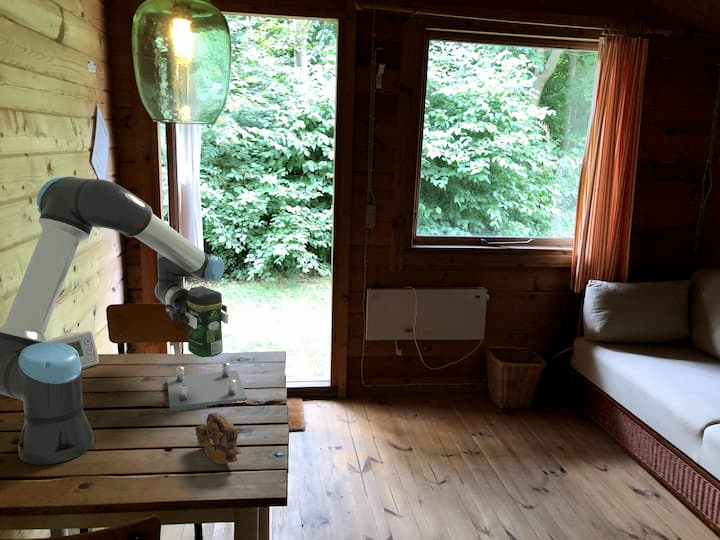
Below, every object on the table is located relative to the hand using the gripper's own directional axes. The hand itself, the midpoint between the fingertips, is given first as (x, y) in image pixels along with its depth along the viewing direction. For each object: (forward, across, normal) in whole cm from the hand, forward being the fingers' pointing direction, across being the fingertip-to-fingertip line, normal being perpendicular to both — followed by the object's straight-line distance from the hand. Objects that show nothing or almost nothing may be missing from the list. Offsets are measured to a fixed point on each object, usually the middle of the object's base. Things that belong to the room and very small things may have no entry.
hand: (211, 321), depth 154 cm
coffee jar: (-5, 0, -11) cm, 12 cm away
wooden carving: (+30, +11, -22) cm, 39 cm away
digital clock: (-41, +28, -22) cm, 54 cm away
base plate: (-5, 0, -22) cm, 23 cm away
